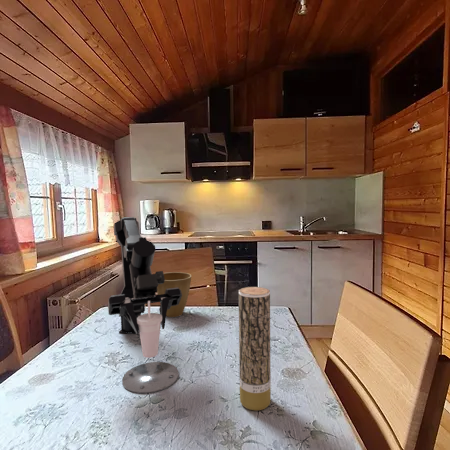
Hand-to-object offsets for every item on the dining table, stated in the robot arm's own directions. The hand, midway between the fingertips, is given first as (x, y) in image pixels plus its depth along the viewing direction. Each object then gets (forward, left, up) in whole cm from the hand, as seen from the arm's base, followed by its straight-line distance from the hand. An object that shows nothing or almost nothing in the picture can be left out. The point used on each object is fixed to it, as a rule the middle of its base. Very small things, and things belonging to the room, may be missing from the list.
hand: (150, 330), depth 78 cm
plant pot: (-10, +48, -13) cm, 51 cm away
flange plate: (-1, +1, -13) cm, 13 cm away
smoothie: (-1, +1, -7) cm, 7 cm away
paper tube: (+26, -6, -13) cm, 30 cm away
